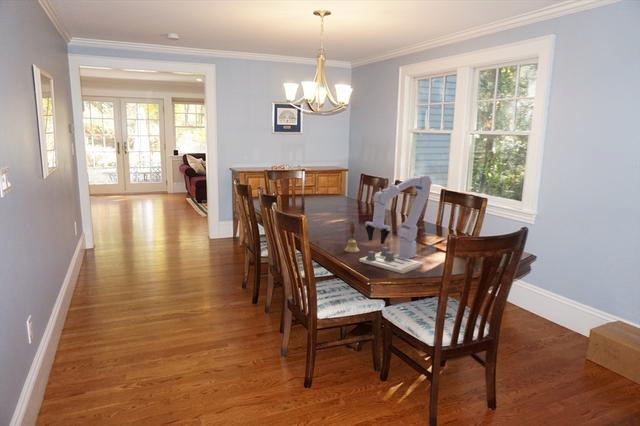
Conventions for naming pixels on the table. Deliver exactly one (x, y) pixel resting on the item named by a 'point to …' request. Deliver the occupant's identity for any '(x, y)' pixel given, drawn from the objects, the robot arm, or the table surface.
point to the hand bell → (352, 241)
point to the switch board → (393, 263)
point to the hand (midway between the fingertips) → (376, 241)
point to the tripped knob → (389, 256)
